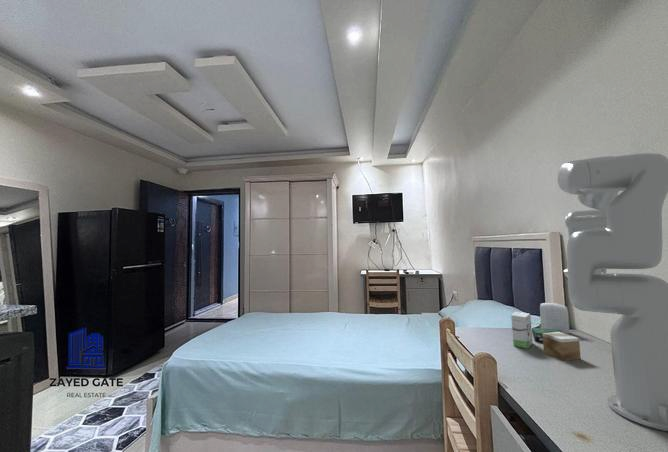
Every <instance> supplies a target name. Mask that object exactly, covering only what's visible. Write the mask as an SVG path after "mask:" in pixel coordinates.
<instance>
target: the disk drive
mask: <svg viewBox="0 0 668 452" xmlns="http://www.w3.org/2000/svg"><path fill="white" fill-rule="evenodd" d="M531 330H532V333H533V334H532V337H533V339H534V341H535V343H540V342H541V344H543V333H550V332H561V331H560V330H552V329H541V327H540V328H538V327H531ZM561 333H562V332H561Z"/></svg>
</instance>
